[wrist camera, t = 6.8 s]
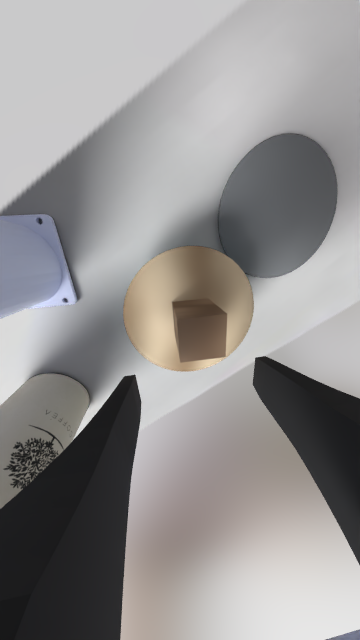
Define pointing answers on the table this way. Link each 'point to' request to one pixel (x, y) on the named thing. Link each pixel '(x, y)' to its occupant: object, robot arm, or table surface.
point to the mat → (278, 206)
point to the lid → (188, 308)
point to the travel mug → (37, 428)
